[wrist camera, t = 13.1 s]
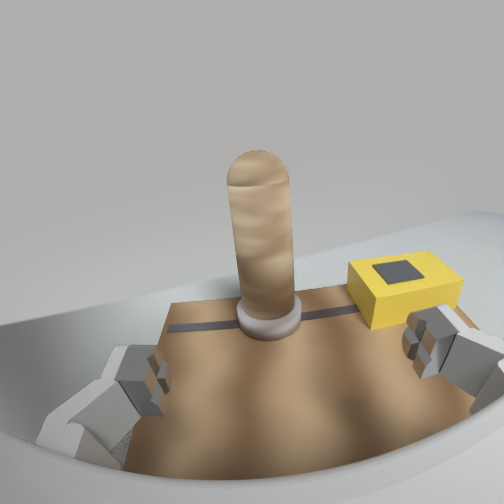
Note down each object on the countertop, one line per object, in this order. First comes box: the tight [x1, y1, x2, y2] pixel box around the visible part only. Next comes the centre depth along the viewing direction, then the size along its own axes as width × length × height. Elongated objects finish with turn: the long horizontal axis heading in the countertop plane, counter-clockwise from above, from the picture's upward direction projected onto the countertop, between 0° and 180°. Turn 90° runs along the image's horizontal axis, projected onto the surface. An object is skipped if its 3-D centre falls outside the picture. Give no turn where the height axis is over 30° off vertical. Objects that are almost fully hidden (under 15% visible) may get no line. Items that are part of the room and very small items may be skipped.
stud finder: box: [347, 251, 464, 330], centre depth 22 cm, size 9×6×3 cm, turn 92°
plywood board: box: [124, 284, 479, 480], centre depth 17 cm, size 26×20×2 cm
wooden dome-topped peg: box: [227, 150, 301, 340], centre depth 20 cm, size 5×5×13 cm
